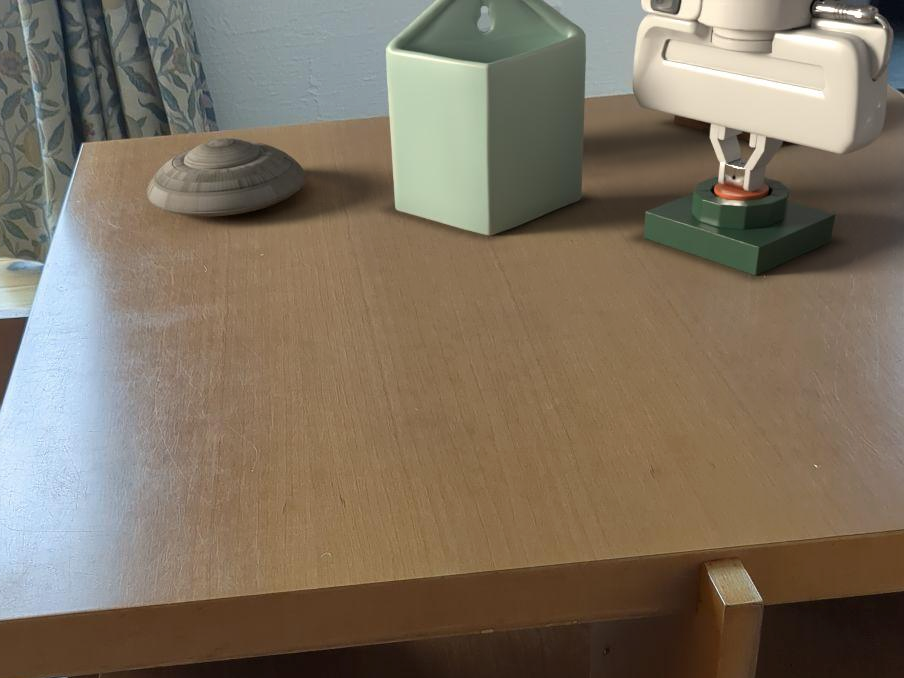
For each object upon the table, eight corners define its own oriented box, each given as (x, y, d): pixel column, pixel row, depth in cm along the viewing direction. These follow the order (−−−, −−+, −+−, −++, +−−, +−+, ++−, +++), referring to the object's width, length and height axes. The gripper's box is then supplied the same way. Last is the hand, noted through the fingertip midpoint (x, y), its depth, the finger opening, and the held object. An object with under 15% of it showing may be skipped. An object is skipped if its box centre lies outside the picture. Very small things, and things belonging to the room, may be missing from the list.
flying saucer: (141, 187, 113) (131, 131, 110) (291, 164, 115) (284, 107, 112) (157, 240, 101) (146, 177, 98) (324, 212, 103) (317, 150, 100)
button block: (831, 241, 89) (839, 190, 87) (755, 275, 85) (762, 223, 83) (717, 208, 97) (722, 160, 94) (643, 237, 93) (646, 188, 90)
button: (777, 208, 89) (779, 186, 88) (743, 222, 87) (745, 200, 86) (735, 196, 92) (737, 174, 91) (701, 210, 90) (703, 188, 89)
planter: (392, 241, 96) (375, -16, 85) (395, 207, 103) (379, -36, 91) (590, 230, 95) (600, -33, 83) (580, 197, 101) (588, -52, 90)
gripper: (926, -1, 75) (886, 207, 83) (682, -31, 89) (668, 149, 97) (867, 18, 72) (831, 231, 80) (624, -17, 86) (615, 168, 94)
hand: (740, 186), depth 89 cm, fingers closed, pressing on button
